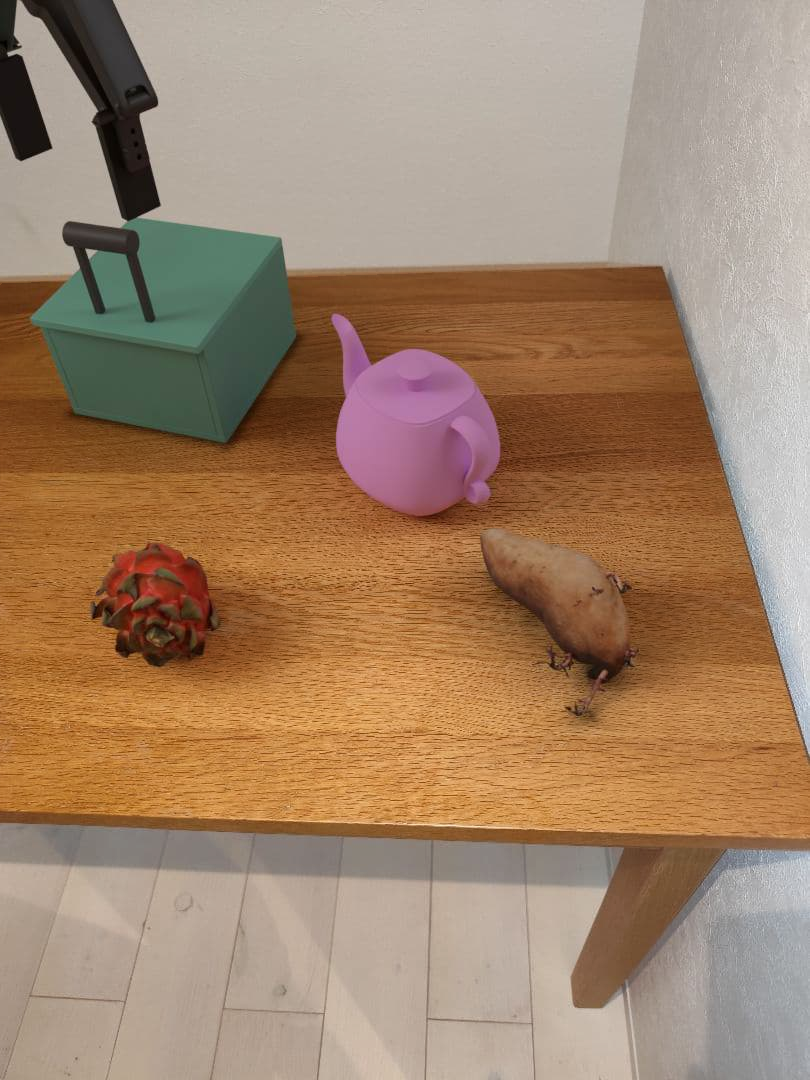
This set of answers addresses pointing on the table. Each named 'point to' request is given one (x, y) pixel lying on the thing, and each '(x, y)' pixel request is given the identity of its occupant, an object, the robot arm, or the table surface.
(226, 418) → the storage chest
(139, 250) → the chest lid
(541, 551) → the vegetable
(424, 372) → the teapot
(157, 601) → the dragon fruit
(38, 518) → the table surface
